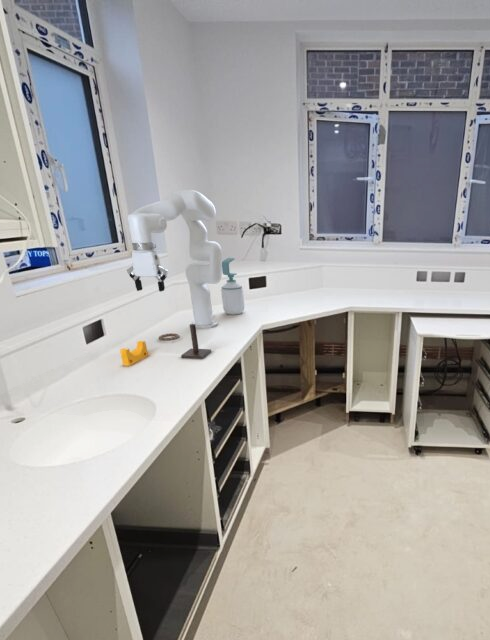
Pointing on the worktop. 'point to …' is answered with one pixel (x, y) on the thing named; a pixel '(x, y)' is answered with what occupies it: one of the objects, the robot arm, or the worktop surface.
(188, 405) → the worktop surface
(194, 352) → the post
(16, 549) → the worktop surface
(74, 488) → the worktop surface
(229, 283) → the soap bottle
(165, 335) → the ring
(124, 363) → the pipe clamp
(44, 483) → the worktop surface
